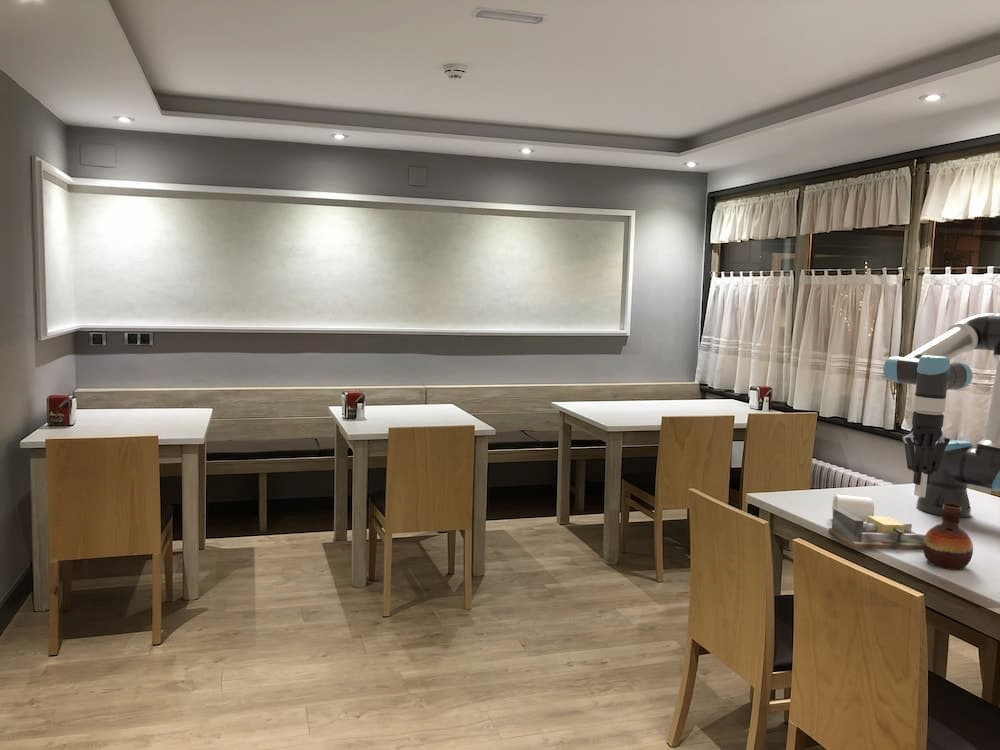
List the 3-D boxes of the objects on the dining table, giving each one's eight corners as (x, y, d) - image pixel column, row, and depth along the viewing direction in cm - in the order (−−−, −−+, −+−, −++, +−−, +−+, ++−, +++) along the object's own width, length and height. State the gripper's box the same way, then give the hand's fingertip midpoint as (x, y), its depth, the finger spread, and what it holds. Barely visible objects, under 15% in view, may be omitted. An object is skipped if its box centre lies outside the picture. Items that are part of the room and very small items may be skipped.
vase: (978, 574, 192) (985, 513, 190) (930, 569, 194) (937, 509, 192) (960, 559, 203) (967, 502, 201) (914, 555, 204) (921, 497, 203)
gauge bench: (908, 533, 223) (910, 509, 223) (939, 550, 210) (942, 524, 209) (828, 531, 221) (831, 507, 220) (855, 548, 207) (858, 522, 207)
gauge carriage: (886, 531, 219) (887, 516, 219) (910, 544, 208) (912, 529, 208) (855, 530, 219) (857, 515, 218) (879, 544, 207) (880, 528, 207)
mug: (872, 528, 227) (875, 501, 227) (836, 524, 229) (839, 498, 228) (862, 516, 239) (864, 491, 238) (827, 513, 241) (830, 488, 240)
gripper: (942, 410, 217) (933, 492, 220) (897, 409, 216) (889, 491, 218) (960, 415, 209) (950, 500, 212) (914, 413, 208) (905, 499, 211)
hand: (919, 495), depth 215 cm, fingers closed
